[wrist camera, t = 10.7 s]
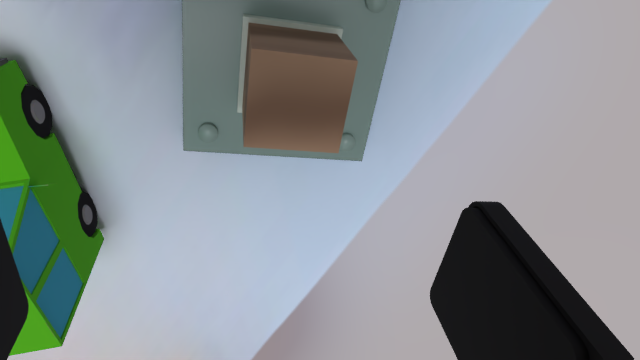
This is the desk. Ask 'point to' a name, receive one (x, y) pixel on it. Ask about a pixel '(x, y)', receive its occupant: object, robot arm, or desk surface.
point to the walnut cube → (296, 89)
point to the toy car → (42, 214)
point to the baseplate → (230, 58)
